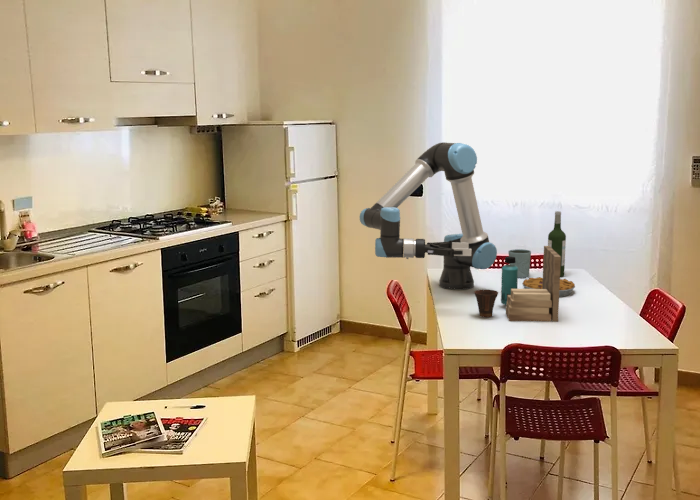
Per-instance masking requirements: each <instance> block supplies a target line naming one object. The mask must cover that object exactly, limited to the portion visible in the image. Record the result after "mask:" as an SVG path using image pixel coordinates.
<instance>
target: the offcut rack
mask: <svg viewBox="0 0 700 500" xmlns="http://www.w3.org/2000/svg"><path fill="white" fill-rule="evenodd" d="M542 261H543V263H542V278H543V284H542V289H525V288H518V289H511V295H507V305H505V315H506V317H507V319H508V322H559V307H560V306H559V305H560V297H559V288H560V279H561V277H560V266H561V256H559V255H558V254H557V253H556V252H555V251H554V250H553V249H552V248H551V247H550V246H548V245H543V260H542Z"/></svg>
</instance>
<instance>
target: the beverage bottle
mask: <svg viewBox="0 0 700 500" xmlns="http://www.w3.org/2000/svg"><path fill="white" fill-rule="evenodd" d="M504 263H506V264H504V265H503V266H502V267H501V280H500V281H501V287H500V290H501V291H500V303H501V304H502V305H505V306H506V305H507V295H511V289H519V288H518V281H519V278H518V268H517V267H516V266H515V265H509V263H516V261H515V257H509V256H505V257H504Z"/></svg>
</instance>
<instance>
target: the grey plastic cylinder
mask: <svg viewBox="0 0 700 500" xmlns="http://www.w3.org/2000/svg"><path fill="white" fill-rule="evenodd" d="M531 254H532V251H531V250H530V249H520V248H519V249H518V248H516V249H510V250H508V257H515V261H516V263H508V265H515V266H516V267H517V268H518V279H519V278H520V279H527V278H526V277H528V278H530V267H531Z"/></svg>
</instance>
